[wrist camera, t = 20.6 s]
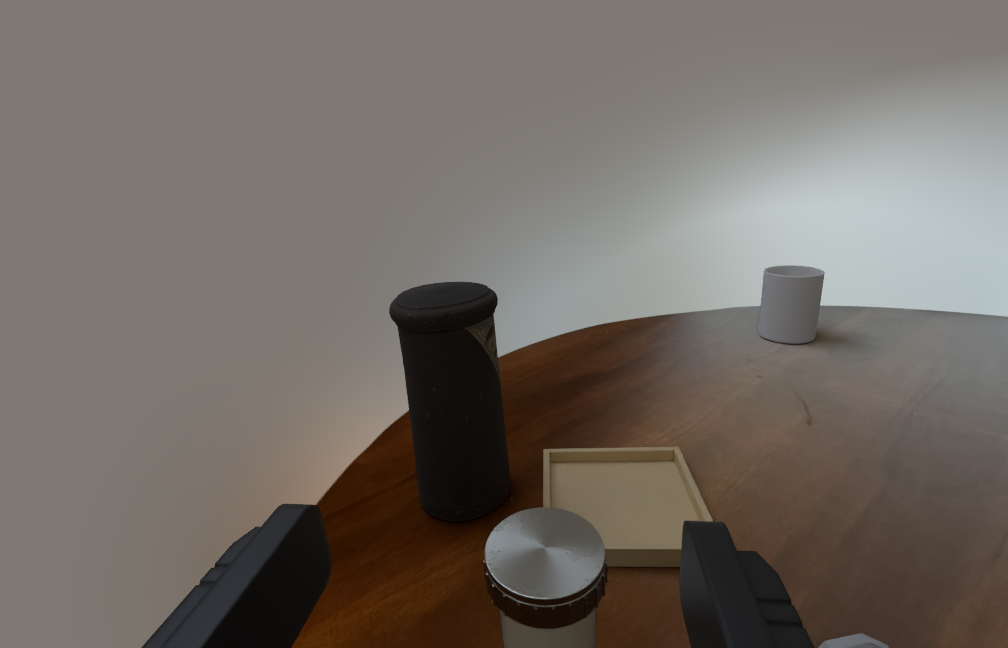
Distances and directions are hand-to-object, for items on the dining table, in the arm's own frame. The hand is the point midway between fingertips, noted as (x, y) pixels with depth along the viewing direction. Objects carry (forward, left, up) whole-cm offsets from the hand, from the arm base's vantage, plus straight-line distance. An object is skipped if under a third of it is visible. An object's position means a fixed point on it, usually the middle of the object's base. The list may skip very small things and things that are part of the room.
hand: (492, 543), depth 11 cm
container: (-7, +29, -22) cm, 37 cm away
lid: (+1, +11, -11) cm, 15 cm away
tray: (+7, +27, -21) cm, 35 cm away
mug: (+39, +69, -22) cm, 82 cm away
